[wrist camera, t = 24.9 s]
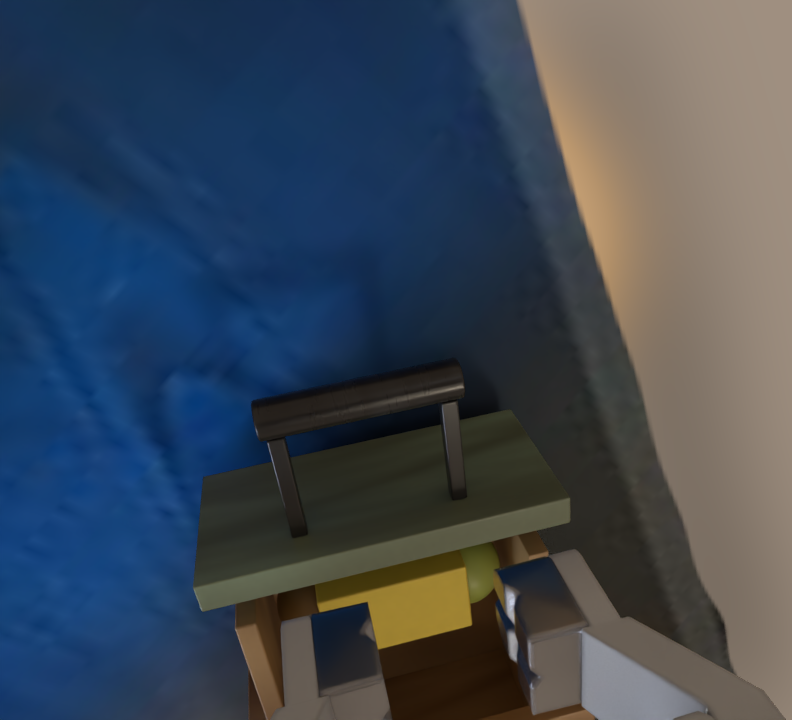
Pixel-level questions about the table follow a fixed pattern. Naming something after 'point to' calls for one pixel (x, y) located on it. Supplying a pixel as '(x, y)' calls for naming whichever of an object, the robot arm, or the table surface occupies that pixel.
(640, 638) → the robot arm
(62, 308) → the table surface
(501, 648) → the drawer
